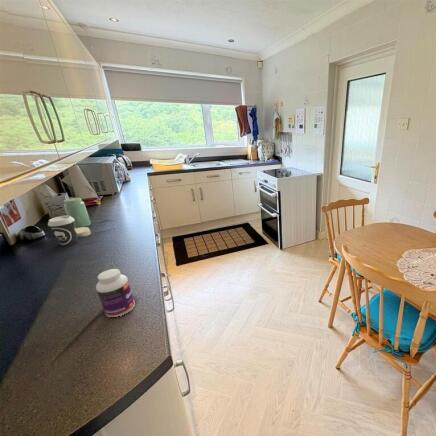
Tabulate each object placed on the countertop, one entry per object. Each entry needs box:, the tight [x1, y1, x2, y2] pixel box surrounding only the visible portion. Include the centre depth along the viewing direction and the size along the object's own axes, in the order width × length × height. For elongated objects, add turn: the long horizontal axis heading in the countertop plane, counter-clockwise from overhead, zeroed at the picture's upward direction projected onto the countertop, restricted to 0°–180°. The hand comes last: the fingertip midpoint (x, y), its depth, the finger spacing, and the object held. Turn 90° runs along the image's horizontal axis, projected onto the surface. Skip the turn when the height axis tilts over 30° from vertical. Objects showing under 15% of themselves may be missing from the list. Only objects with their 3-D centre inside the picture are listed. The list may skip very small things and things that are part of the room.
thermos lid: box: [76, 226, 91, 237], centre depth 127 cm, size 9×9×3 cm
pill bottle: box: [95, 268, 136, 318], centre depth 74 cm, size 8×8×14 cm
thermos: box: [63, 197, 92, 228], centre depth 138 cm, size 9×9×16 cm
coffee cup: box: [47, 215, 79, 247], centre depth 114 cm, size 10×10×15 cm
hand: (52, 170), depth 131 cm, fingers open, 13 cm apart
